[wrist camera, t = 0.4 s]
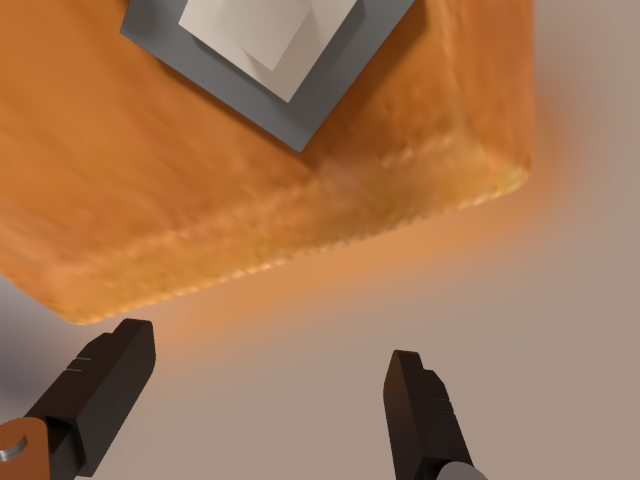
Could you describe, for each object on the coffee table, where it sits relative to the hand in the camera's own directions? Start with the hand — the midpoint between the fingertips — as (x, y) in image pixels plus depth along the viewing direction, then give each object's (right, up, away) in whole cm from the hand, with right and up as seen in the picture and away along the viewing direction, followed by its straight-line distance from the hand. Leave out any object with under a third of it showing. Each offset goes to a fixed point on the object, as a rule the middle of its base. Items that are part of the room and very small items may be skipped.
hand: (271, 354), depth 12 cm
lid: (-2, +20, +13) cm, 24 cm away
